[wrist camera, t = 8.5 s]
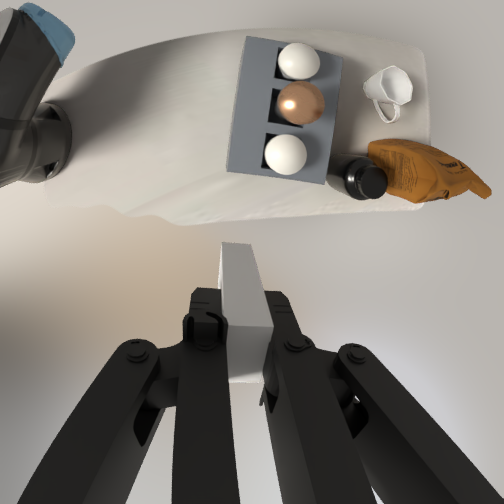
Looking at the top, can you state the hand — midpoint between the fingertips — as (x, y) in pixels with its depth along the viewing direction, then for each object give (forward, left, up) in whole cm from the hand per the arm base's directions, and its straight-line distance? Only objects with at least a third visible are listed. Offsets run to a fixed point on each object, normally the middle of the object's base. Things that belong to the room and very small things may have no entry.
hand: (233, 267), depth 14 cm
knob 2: (+7, +5, -30) cm, 31 cm away
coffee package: (+31, +8, -33) cm, 45 cm away
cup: (+24, +19, -33) cm, 45 cm away
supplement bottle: (+20, +4, -33) cm, 38 cm away
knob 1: (+7, +18, -30) cm, 36 cm away
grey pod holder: (+7, +12, -32) cm, 35 cm away
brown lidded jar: (+7, +12, -26) cm, 29 cm away
